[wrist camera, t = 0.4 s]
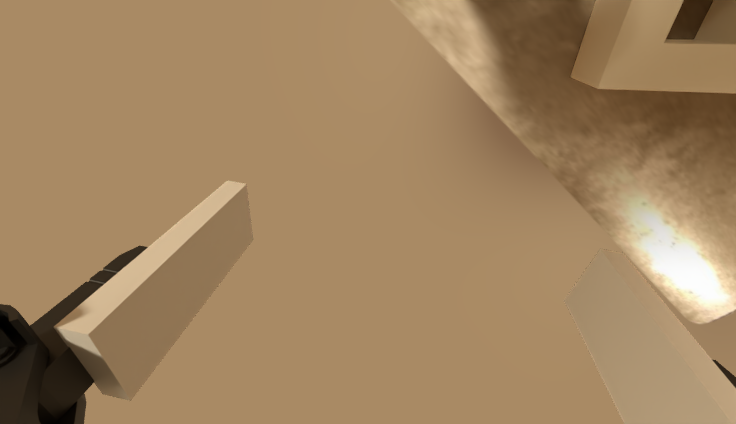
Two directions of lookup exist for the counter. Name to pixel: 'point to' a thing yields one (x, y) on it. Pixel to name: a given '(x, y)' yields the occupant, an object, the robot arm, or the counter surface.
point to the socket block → (657, 48)
